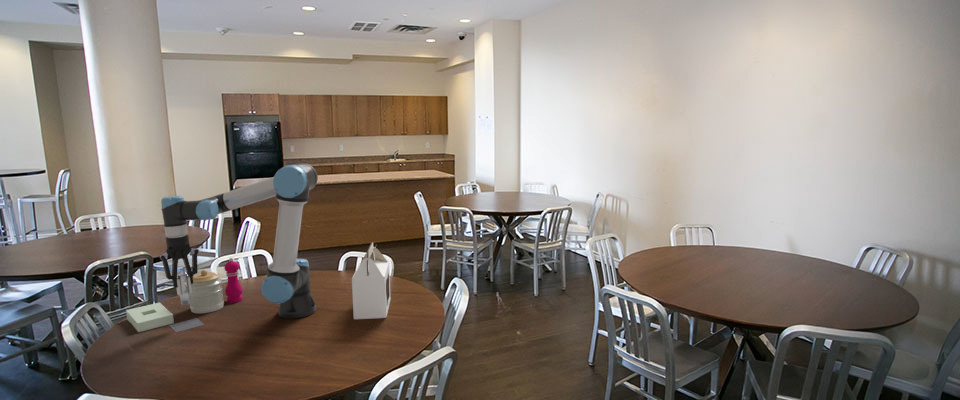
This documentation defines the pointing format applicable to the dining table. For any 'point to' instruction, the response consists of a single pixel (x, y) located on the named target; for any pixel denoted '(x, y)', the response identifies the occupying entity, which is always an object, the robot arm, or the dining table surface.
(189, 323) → the mat
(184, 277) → the pin
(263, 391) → the dining table surface
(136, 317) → the socket block
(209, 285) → the jar
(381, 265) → the gable box
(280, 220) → the robot arm
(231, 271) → the pepper mill
